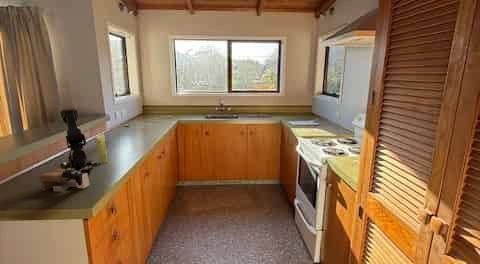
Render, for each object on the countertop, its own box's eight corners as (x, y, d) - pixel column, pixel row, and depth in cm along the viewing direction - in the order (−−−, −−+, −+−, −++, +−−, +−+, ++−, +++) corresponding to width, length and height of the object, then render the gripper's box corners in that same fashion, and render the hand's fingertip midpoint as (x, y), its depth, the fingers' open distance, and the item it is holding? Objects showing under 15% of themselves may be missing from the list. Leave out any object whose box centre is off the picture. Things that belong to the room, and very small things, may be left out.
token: (61, 187, 142) (60, 182, 141) (69, 187, 141) (68, 182, 141) (53, 191, 137) (52, 186, 136) (62, 191, 137) (61, 186, 136)
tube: (107, 163, 178) (103, 135, 174) (99, 164, 176) (94, 136, 172) (108, 160, 183) (104, 133, 179) (99, 161, 181) (95, 134, 177)
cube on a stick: (63, 183, 145) (61, 171, 143) (89, 185, 142) (87, 172, 141) (57, 187, 141) (55, 174, 140) (84, 188, 139) (81, 175, 137)
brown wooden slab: (63, 180, 151) (60, 166, 149) (82, 180, 150) (79, 166, 148) (42, 190, 138) (39, 175, 136) (62, 191, 136) (59, 176, 134)
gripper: (77, 150, 147) (81, 176, 151) (49, 161, 129) (55, 191, 133) (95, 150, 146) (99, 177, 149) (69, 162, 128) (75, 191, 131)
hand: (83, 183), depth 140 cm, fingers closed on cube on a stick, 4 cm apart
